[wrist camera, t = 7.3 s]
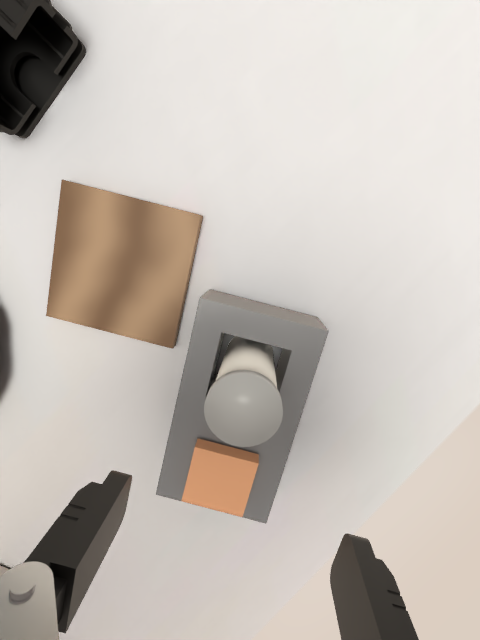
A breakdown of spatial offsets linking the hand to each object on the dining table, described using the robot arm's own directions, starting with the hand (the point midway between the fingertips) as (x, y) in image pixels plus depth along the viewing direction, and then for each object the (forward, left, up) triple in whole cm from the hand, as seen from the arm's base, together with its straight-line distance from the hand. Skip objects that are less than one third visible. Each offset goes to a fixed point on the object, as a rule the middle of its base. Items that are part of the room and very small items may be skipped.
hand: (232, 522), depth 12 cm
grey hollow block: (0, -4, -19) cm, 20 cm away
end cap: (-24, +19, -20) cm, 36 cm away
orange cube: (0, -9, -17) cm, 20 cm away
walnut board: (-13, +5, -19) cm, 24 cm away
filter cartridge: (0, 0, -19) cm, 19 cm away
